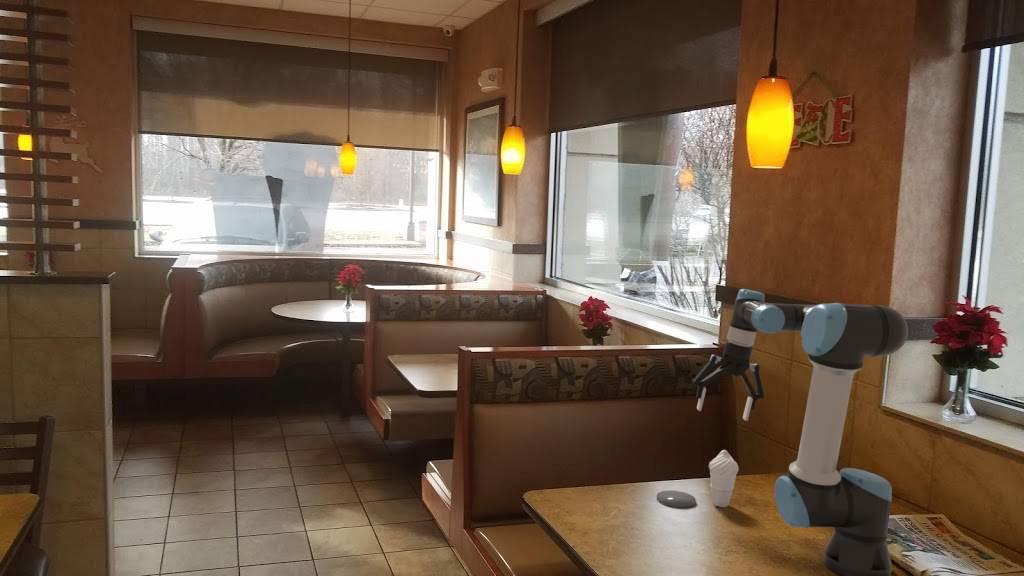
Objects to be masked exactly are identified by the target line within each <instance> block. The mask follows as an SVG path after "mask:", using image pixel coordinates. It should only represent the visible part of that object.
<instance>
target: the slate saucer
mask: <svg viewBox="0 0 1024 576" xmlns="http://www.w3.org/2000/svg"><path fill="white" fill-rule="evenodd" d="M656 501H657V502H658V501H659V502H658V503H659V504H661V503H662V504H661V505H664V506H666V505H667V507H671V508H675V507H677V508H676V509H678V508H679V509H688V508H693V507H695V505H696V501H697V499H696V497H694V495H692V494H690V493H688V492H683V491H679V490H661V491H659V492H657V494H656Z"/></svg>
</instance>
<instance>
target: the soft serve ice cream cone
mask: <svg viewBox="0 0 1024 576" xmlns="http://www.w3.org/2000/svg"><path fill="white" fill-rule="evenodd" d="M708 469H709V475H710V484H709V485H710V491H711V499H712V504H713V505H714V507H718V506H719V507H718V508H727V507H729V504H730V501H731V499H732V498H731V497H732V494H733V491H734V489H735V484H736V483H735V481H736V478H737V474H738V472H739V465H738V463H737V462H736V461H735V459H734V458H733V457H732V456H731V455H730V453H729V452H728V451H727V450H726V449H722V450H721V451H720V452H719V453H718V454H717V455H716V457H714V458H713V459H711V461H709V464H708Z"/></svg>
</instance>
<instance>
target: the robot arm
mask: <svg viewBox="0 0 1024 576" xmlns="http://www.w3.org/2000/svg"><path fill="white" fill-rule="evenodd" d="M735 298H736V299H735V301H734V306H733V312H732V315H731V320H730V324H729V328H728V332H727V336H726V339H727V340H726V342H725V343H724V348H723V352H722V355H721V357H720V356H717V355H715V354H712V353H711V355H710V356H709V358H708V359H709V360H708V361H707V363H706V364H705V365H704V366H703V367H702V369H701V370H700V371H699V372H698V373H697V374H696V376H695V377H694V378H693V379H692V382H693V383H694V385H697V390H696V394H695V397H696V398H697V399H698V401H697V404H696V409H697V411H698V412H701V411H702V408H703V404H704V401H705V400H704V399H705V397H706V396H705V395H706V392H707V388H706V387H707V386H708V385H709V384H711V383H712V382H713V381H714V380H716V379H717V378H718V377H720V376H722V375H724V374H726V375H729V376H734V377H739V376H740V377H741V379H742V381H743V384H744V385H745V388H746V389H747V391H748V394H749V395H750V396H747V399H746V403H745V407H744V409H743V414H742V419H743V420H744V421H745V422H746V421H747V422H748V421H749V417H750V412H751V410H753V411H754V410H755V406H756V402H757V400H759V399H764V398H765V393H764V389H763V386H762V380H761V378H760V373H759V372H760V365H759V364H758V363H750V359H751V356H752V352H753V347H752V346H754V345H755V340H756V335H757V332H758V331H759V332H761V333H765V334H776V333H778V332H796V333H800V338H801V339H802V340H801V345H802V348H803V350H804V352H805V353H806V354H807V358H808V361H810V363H811V365H812V366H813V367H812V373H811V379H810V385H809V391H808V395H807V400H806V401H807V403H806V406H805V407H806V409H805V413H804V419H803V424H802V431H801V436H800V442H799V448H798V453H797V454H798V455H797V457H796V458H797V459H796V460H794V461H793V462H791V463H790V464H789V466H788V471H787V475H781V476H779V477H778V478H777V479H776V481H775V484H774V499H775V504H776V506H777V510H778V512H779V515H780V517H781V518H782V520H783V521H784V522H785V523H786V524H787V525H789V526H791V527H793V528H804V529H809V528H834V529H833V532H832V535H831V537H830V538H829V540H828V542H827V544H826V546H825V548H824V551H823V560H822V562H823V564H824V565H825V566H826V567H827V568H828V569H829V570H831V571H833V572H834V573H836V574H839V575H841V576H890V575H891V576H892V572H893V571H892V568H893V567H892V566H893V565H892V561H891V560H892V559H891V555H890V552H889V548H888V546H889V545H888V542H887V541H888V532H889V530H888V529H889V523H890V512H891V503H892V502H893V498H892V496H893V495H892V493H893V492H892V491H893V487H892V485H891V483H890V481H888V480H887V479H886V478H884V477H882V476H880V475H878V474H875V473H872V472H869V471H867V470H863V469H858V468H854V467H853V468H852V467H843V468H841V469H840V470H839V471H838V470H837V465H838V459H839V455H840V454H839V453H840V450H841V448H840V447H841V444H842V439H843V433H844V428H845V422H846V417H847V412H848V407H849V406H848V405H849V402H850V401H849V400H850V396H851V395H850V394H851V389H852V385H853V379H854V375H855V374H856V373H857V372H859V371H860V370H862V369H863V367H864V362H865V358H867V357H872V358H873V357H874V358H877V357H884V356H885V357H886V356H889V355H893V354H894V353H896V352H898V351H899V350H901V348H902V347H904V345H905V343H906V342H907V340H908V337H909V326H908V323H907V320H906V319H905V317H904V316H903V315H902V314H901V313H900V312H899V311H897V310H896V309H894V308H892V307H890V306H886V305H881V304H855V303H839V302H833V303H832V302H831V303H820V304H794V303H777V302H776V303H775V302H773V303H771V302H765V300H766V296H765V293H763V292H760V291H756V290H752V289H751V290H750V289H748V288H747V289H746V288H742V289H741V288H740V289H739V290H738V293H737V296H736V297H735ZM718 362H719V363H720V366H718V368H717V369H716V370H714V371H713V372H711V373H710V374H709V375H707V374H708V373H709V372H710V370H711V369H712V368H713V367H714V366H715V365H717V364H718ZM749 369H750V371H751V373H752V375H753V376H752V377H753V381H754V384H755V385H754V386H755V389H754V387H753V386H752V384H751V382H750V380H749V377H748V375H747V373H746V372H747V370H749ZM706 375H707V376H706ZM704 377H705V378H704ZM755 390H756V391H755Z"/></svg>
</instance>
